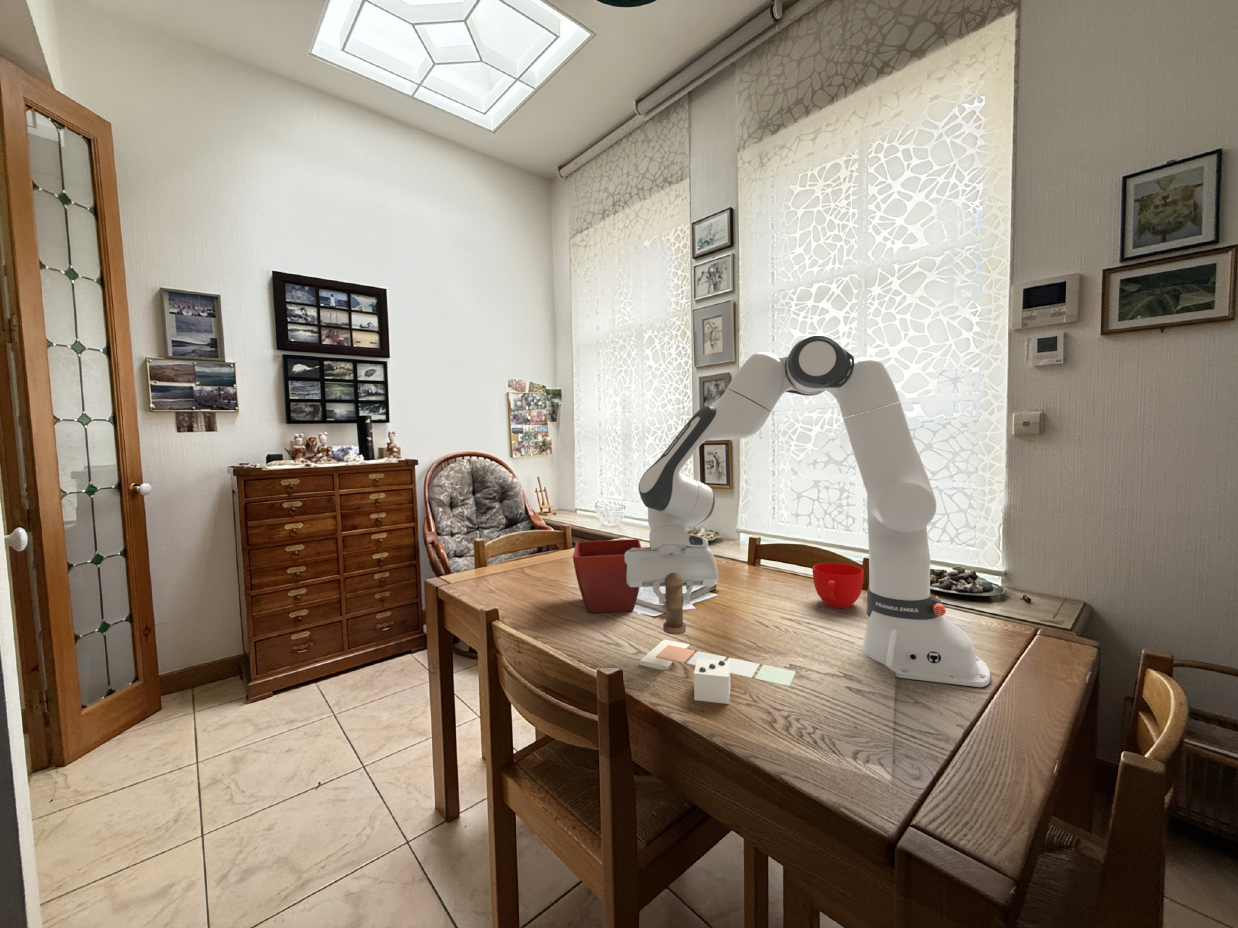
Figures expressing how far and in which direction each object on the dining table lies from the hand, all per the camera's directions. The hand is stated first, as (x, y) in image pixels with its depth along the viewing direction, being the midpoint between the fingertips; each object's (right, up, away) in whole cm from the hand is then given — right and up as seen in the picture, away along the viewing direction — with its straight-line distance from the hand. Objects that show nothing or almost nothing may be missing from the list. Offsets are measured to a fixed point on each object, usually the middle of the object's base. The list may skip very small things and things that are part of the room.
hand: (674, 603), depth 105 cm
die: (+5, -13, -15) cm, 21 cm away
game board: (+9, -12, -4) cm, 16 cm away
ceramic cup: (+48, -10, +30) cm, 57 cm away
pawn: (0, -6, +1) cm, 6 cm away
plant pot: (-15, -11, +36) cm, 41 cm away
